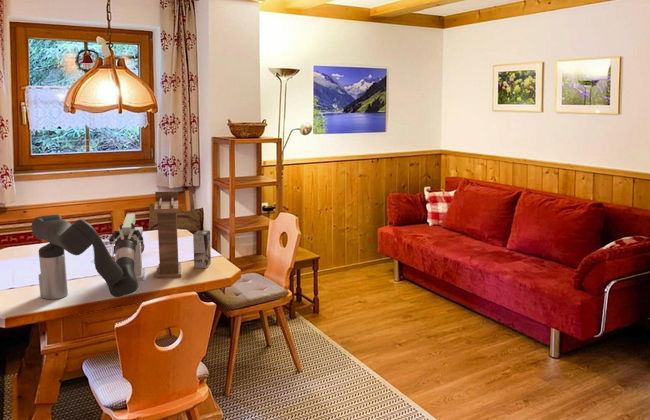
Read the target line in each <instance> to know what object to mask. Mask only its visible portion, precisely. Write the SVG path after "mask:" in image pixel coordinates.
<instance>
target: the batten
mask: <svg viewBox="0 0 650 420" xmlns="http://www.w3.org/2000/svg"><path fill="white" fill-rule="evenodd" d="M131 223H133V224H134V225H135V224H136V214H135V213H127V214H126V216H125V218H124V221H123V223H122V224H123V226H122V232H123V235H129V233H130V232H131Z"/></svg>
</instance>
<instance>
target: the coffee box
mask: <svg viewBox="0 0 650 420" xmlns="http://www.w3.org/2000/svg"><path fill="white" fill-rule="evenodd" d="M192 245H193V267H194V268H195V269H199V268H200V269H207V268H208V267H209V266H210V265H211V263H212V254H211V253H212V252H211V250H212V249H211V230H196V232H195V233H193V244H192Z"/></svg>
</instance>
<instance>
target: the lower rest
mask: <svg viewBox="0 0 650 420" xmlns="http://www.w3.org/2000/svg"><path fill="white" fill-rule="evenodd" d="M119 229H120V227H118V230H117V231H119ZM135 230H139V232H140V233H141V235H142V236H143V232H144V229H143V226H135ZM118 238H120V235H118V237H117V238H116V240H117V239H118ZM134 238H135V239H136V240H137V236H136V235H134ZM116 240H115V241H116ZM135 255H136V258H135V263H134V272H135V276H136V279H137V281H138V282H140V281H141V282H142V281H144V279H145V275H146V272H145V270H146V269H145V268H143V257H142V254H141V243H140V242H139V243H137V245H136V254H135Z"/></svg>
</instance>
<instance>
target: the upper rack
mask: <svg viewBox="0 0 650 420" xmlns="http://www.w3.org/2000/svg"><path fill="white" fill-rule="evenodd" d="M154 193H155V194H154V195H155V201H154V202H155V203H154V210H153V211H154V213H153V214H156V218H157V235H158V237H157V238H158V239H157V240H158V255H159V256H158V257H159V259H158V260H159V263H158V267H157V279H158V280H161V279H175V278H176V279H177V277H179V278H182V269H181V268H182V266H181V265H182V264H181V261H179V246H178V244H179V243H178V222H177V221H178V220H177V219H178V218H177V214H179V192H178V190H166V191H164V190H163V191H161V190H160V191H154Z"/></svg>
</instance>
